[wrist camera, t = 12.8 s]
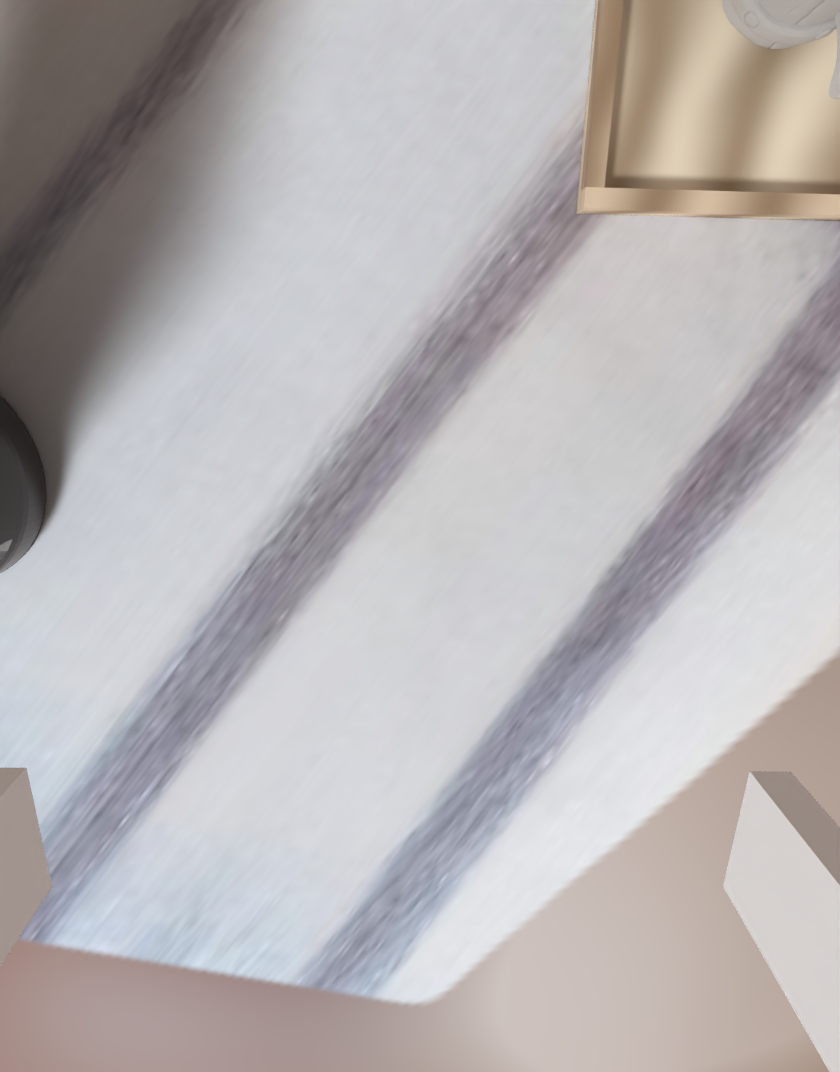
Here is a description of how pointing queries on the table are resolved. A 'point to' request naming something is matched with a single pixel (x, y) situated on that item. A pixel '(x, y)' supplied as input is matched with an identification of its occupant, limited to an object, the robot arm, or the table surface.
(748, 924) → the robot arm
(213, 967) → the table surface
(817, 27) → the mug
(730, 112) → the square serving tray
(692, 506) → the table surface
